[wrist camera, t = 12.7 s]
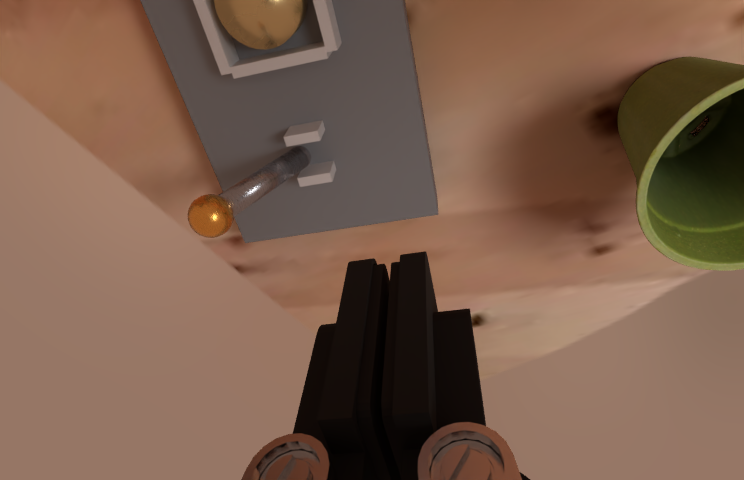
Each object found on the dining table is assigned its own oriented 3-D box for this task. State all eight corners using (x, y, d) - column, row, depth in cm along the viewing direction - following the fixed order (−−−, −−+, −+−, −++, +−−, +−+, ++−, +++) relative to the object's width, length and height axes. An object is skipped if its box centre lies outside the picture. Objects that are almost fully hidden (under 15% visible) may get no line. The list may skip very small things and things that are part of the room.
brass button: (292, -60, 27) (284, -58, 26) (317, 33, 30) (311, 39, 28) (212, -39, 28) (199, -36, 27) (242, 49, 31) (232, 57, 29)
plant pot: (604, 17, 31) (684, 59, 22) (796, 21, 31) (962, 66, 21) (563, 181, 38) (611, 266, 29) (720, 187, 37) (821, 277, 28)
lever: (315, 136, 33) (197, 211, 27) (325, 170, 34) (215, 249, 28) (289, 134, 34) (171, 205, 28) (299, 167, 36) (190, 241, 30)
